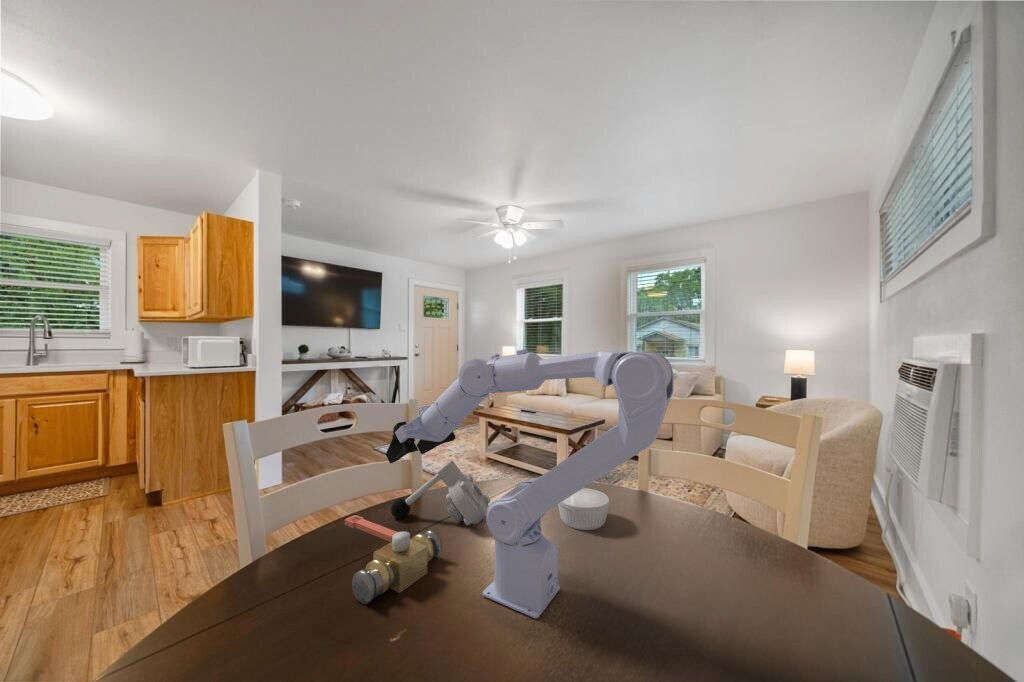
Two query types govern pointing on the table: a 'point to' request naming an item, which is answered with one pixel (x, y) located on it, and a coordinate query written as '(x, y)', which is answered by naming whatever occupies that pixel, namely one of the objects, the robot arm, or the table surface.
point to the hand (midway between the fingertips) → (405, 453)
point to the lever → (381, 532)
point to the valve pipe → (396, 567)
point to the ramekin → (584, 509)
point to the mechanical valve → (451, 496)
